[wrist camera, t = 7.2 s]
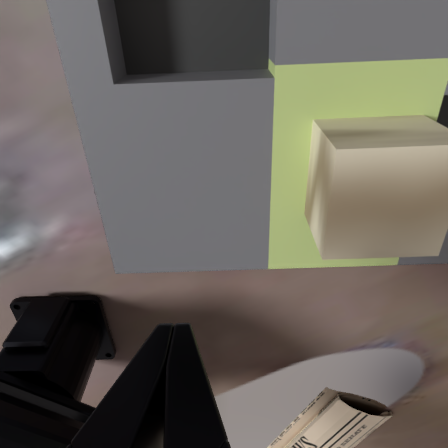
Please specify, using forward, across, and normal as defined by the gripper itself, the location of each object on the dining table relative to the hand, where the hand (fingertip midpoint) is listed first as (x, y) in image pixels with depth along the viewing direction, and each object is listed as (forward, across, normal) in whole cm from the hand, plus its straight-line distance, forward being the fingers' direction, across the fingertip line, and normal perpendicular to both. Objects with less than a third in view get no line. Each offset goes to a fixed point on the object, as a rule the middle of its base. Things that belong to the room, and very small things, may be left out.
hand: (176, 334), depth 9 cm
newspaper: (+14, -8, +35) cm, 38 cm away
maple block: (+10, -8, 0) cm, 13 cm away
